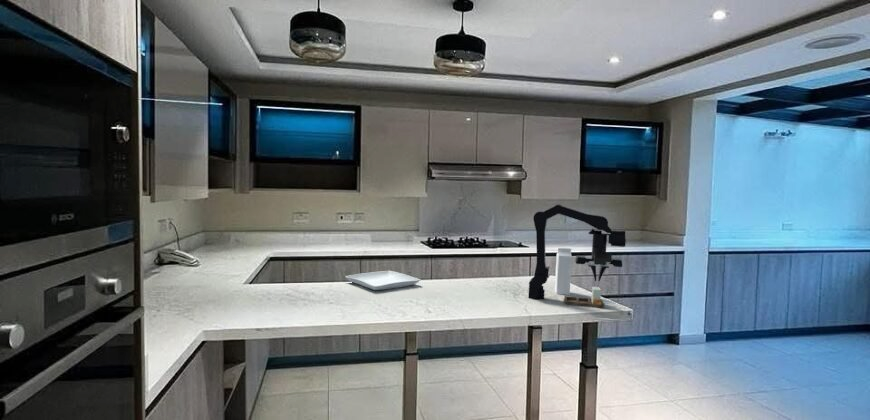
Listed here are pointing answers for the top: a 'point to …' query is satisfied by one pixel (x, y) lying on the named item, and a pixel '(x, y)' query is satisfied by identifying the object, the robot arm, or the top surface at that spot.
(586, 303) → the rack
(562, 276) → the milk
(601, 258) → the robot arm
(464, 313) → the top surface
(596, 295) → the block
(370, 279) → the square plate
